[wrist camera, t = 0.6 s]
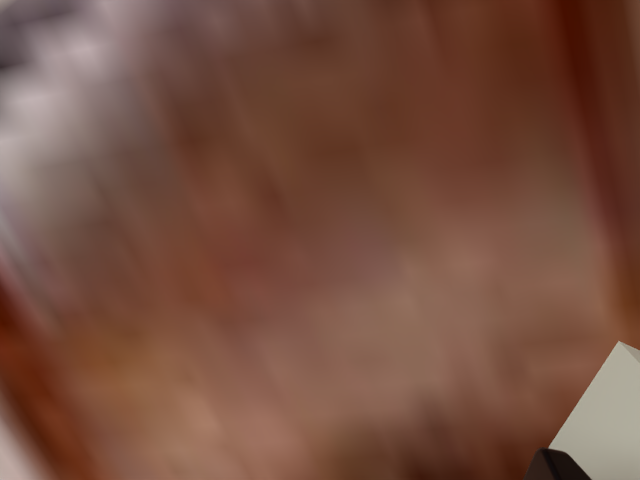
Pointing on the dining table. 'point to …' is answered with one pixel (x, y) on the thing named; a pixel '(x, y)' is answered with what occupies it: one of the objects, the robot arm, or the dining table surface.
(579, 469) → the robot arm
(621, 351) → the sage block
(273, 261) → the dining table surface
